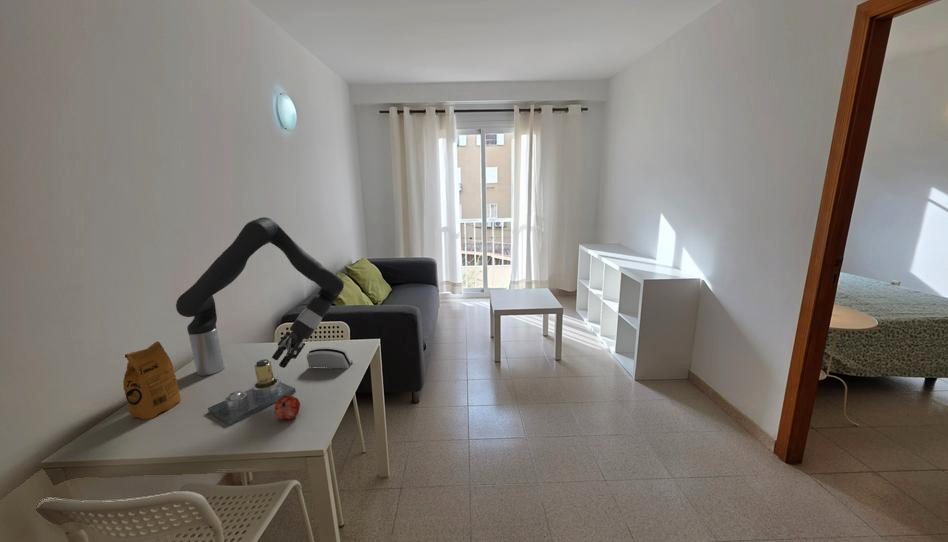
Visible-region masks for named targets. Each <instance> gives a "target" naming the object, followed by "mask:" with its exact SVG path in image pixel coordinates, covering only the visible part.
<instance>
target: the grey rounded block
mask: <svg viewBox="0 0 948 542" xmlns="http://www.w3.org/2000/svg"><path fill="white" fill-rule="evenodd" d="M306 360H307V365H308V368H309V367H325V368H324V369H332V368H346V369H345V370H349V368H350V365H352V364H351V363H353V364H354V362H353V360H352V359H351V358H350V357H349V355H348V353H347V350H345V349H343V348H338V347H334V346H332V347H331V346H320V347H315V348H311V349H310V350H309V351H308V353H307V355H306ZM326 367H327V368H326Z"/></svg>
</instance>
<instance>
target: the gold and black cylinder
mask: <svg viewBox="0 0 948 542" xmlns="http://www.w3.org/2000/svg"><path fill="white" fill-rule="evenodd" d="M254 370H255V376H256V381H257V382H258V387H259V388H266V387H270V386H272V385H274V384H275V382H274V377H275V376H274V372H273V366H272V362H271V361H269V360H268V359H260V360H259V361H256V364H255V365H254Z"/></svg>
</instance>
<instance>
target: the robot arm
mask: <svg viewBox="0 0 948 542" xmlns="http://www.w3.org/2000/svg"><path fill="white" fill-rule="evenodd" d="M269 243H270V244H272V245H273V246H274V247H276V248H278V249H279V250H280V251H281V252H282V253H283V254H284V255H285V257H286V258H287V259H288V261H289V262H290V264H291V265H292V266H293V268H294V269H295V270H296V271H298V273H300V274H301V275H303V276H304V277H305V278H306V279H308V280H309V281H311V282H314V283H315V284H316V285H318V286H319V287H320V289H319V291H318V292H317V294H316V295H315V296H314V297H312V298H311V300H310V301H309V302H308V304H307V306H306V307H305V308H304V309H303V310H302V311H301V312H300V314H299V315H298V316H297V318H296V319H295V320H294V322H293V323H292V324H291V326H290V327H289V330H290V331H291V332H290V331H286V333H285V334H284V335H283V336H282V338H281V339H280V340H279V342H278V343H277V349H276V350H275V352H274V353H273V355H272V357H271V359H273V360H274V361H279V359H280V357H281V356H282V355H283V354H284V352H285V351H286V353H285V355H284V356H283V358H282V359H281V360H280V362H279V364H278V366H279V367H281V368H283V369H285V368H286V367H287V366H288V364H289V363H290V362H291V360H294V359H297V358H298V356H299V354H300V353H301V352H302V350H303V349H304V347H305V346H306V343H305V342H303V340H309V339H310V337H312V335H313V333H314V332H315V330H316V329H317V328H318V327H319V325H320V323H321V321H322V319H323V318H324V317H325V316H326V314H327V313H328V312H329V310H330V308H331V306H332V305H333V303H335V301H336V300H337V299H338V297H339V296H340V295H341V293H342V292H343V291H344V287H345V283H344V281H343V280H342V278H341V277H339V275H337V274H336V273H334V272H333V271H331V270H329V269H328V268H327V267H325V266H324V265H322V263H321V262H319V261H318V260H317V259H315V258H314V257H312V256H311V255H310V254H309V253H307V252H306V251H305V250H304V249H303V248H301V247H300V245H299V244H298V243H296V241H294V239H292V238H291V237H290V235H288V234H287V233H286V231H285V230H284V229H283V228H282V227H281V226H280V225H279V224H278V223H277V222H276V221H275V220H273V219H272V218H270V217H263V216H262V217H259V218H256V219H254V220H250V221H249V222H247V223H246V224H245V226H243V228H241V230H240V232H239V233H238V235H237V237H236V238H235V239H234V240H233V242H232V243H231V244H230V245H229V246H228V247H227V248H226V249H225V250H224V251H223V252H222V253H221V254H220V255H219V256H218V257H216V258H215V260H214V261H213V262H212V264H211V265H210V266H209V267H208V268H207V269H206V271H204V272H203V274H202V275H201V276H200V277H199V278H198V279H197V280H196V282H194V283H193V284H192V286H191V287H189V288H188V289H187V290H186V291H184V293H182V294H181V295H180V296H179V297H178V298H177V300H176V303H175V310H176V311H177V313H178V314H179V315H180V316H181V317H186V318H193V319H192V320H191V322H190V323H189V324H188V325H187V333H188V336H189V337H188V338H189V343H190V348H191V352H192V355H193V361H194V367H195V370H196V374H197V375H198V376H200V377H201V376H210V375H214V374H217V373H218V372H221V371H222V370H224V368H225V364H224V363H225V362H224V359H223V354H222V348H221V343H220V338H219V333H218V327H217V320H218V316H217V307H216V301H215V299H214V295H215V294H218V293H219V292H220V291H222V290H223V289H225V288H226V287H228V286H229V285H231V284H232V283H233V282H234V281H235V280H236V279H237V278H238V277H239V276H240V275H241V274H242V272H243V271H244V270H245V268H246V266H247V263H248V260H249V259H250V258H251V257H252V256H253V254H254V253H256V252H257V251H258V250H259V249H261V248H262V247H264V246H265V245H267V244H269Z"/></svg>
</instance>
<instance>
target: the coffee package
mask: <svg viewBox="0 0 948 542" xmlns="http://www.w3.org/2000/svg"><path fill="white" fill-rule="evenodd" d="M124 358H125V359H126V360H127V361H128V362H127V363H126V364H127V365H126V370H125V372H124V377H123V380H122V382H123V391H124V395H125V399H126V401H127V402H126V403H127V408H128V411H129V415H131V417H133V418H138V419H142V420H151V419H153V418H156V417H157V416H158V415H159V414H161V413H163V412H166V411H169V410H171V409H172V408H173V407H175V406H176V405H177V404H178V403H180V402H181V395H180V390H179V386H178V385H179V384H178V380H177V375H176V373H175V369H174V365H173V363H172V360H171V357H169V355H168V353H167V352H166V351H165V349H164V347H163V346H162V344H161V342H160V341H156V342H155V341H154V342H153V344H151V345H150V346H148V347H147V348H145V349H142V350H138V351H132V352H129V353H125V354H124Z"/></svg>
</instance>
